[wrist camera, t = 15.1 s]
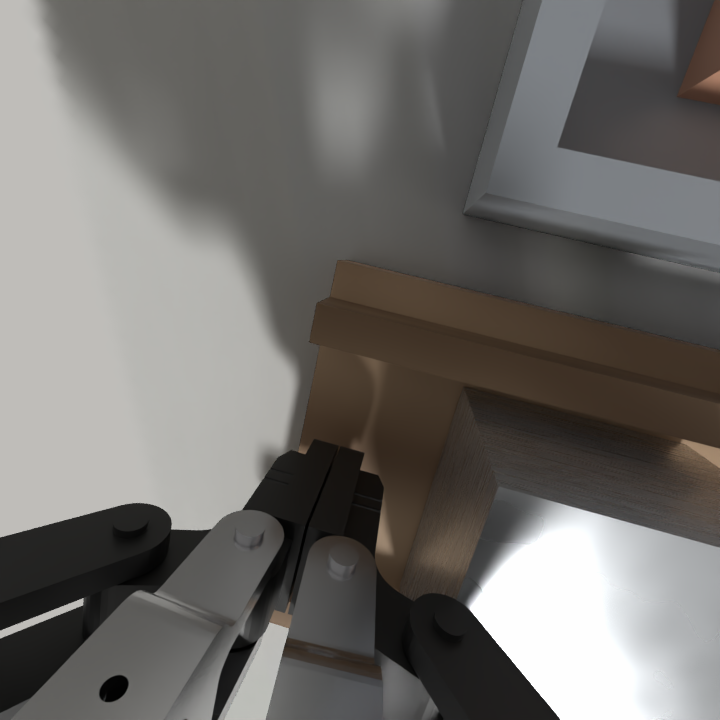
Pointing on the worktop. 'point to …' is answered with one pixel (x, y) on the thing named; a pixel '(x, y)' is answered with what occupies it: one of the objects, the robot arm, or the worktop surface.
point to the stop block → (705, 63)
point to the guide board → (480, 381)
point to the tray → (605, 131)
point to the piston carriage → (580, 557)
